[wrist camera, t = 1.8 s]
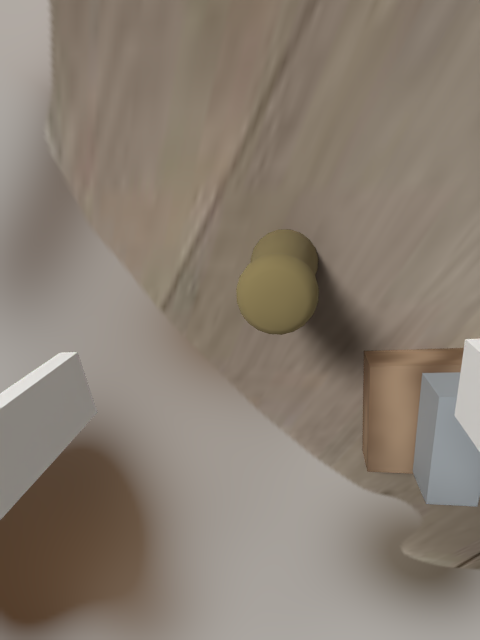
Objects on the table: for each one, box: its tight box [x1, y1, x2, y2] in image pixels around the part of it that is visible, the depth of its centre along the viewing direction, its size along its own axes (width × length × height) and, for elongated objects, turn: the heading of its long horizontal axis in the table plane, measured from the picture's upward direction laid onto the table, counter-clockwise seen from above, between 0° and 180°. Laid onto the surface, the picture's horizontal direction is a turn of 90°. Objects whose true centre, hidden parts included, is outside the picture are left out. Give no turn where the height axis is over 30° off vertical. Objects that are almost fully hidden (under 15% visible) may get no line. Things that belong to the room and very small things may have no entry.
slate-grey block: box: [413, 372, 480, 506], centre depth 27 cm, size 4×11×4 cm, turn 6°
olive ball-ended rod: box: [236, 230, 319, 335], centre depth 24 cm, size 6×6×11 cm
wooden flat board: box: [362, 348, 464, 474], centre depth 31 cm, size 12×12×4 cm
